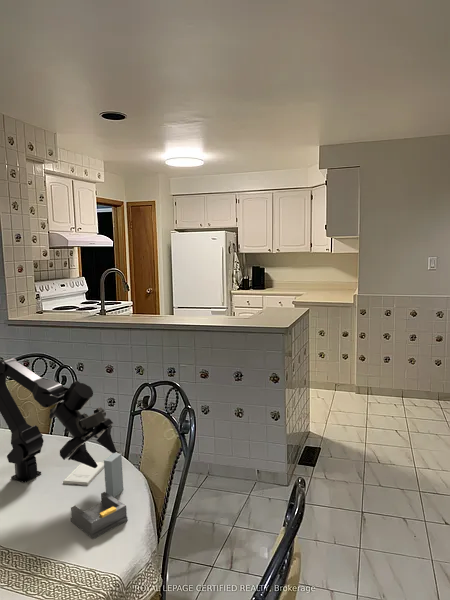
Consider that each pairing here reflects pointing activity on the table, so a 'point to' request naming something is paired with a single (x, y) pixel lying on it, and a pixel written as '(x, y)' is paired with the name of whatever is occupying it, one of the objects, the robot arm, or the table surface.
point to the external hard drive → (84, 474)
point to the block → (113, 474)
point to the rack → (100, 516)
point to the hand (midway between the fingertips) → (106, 459)
